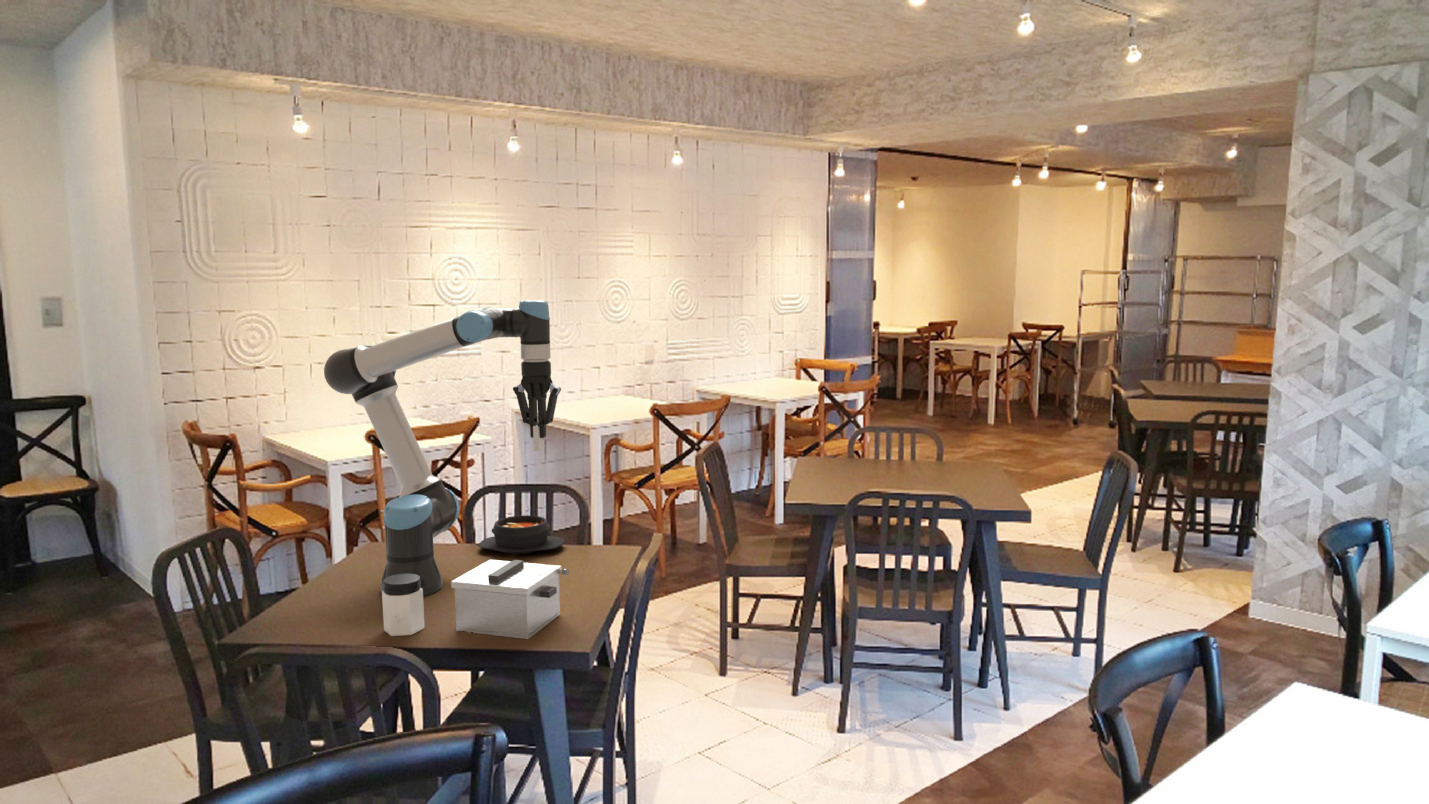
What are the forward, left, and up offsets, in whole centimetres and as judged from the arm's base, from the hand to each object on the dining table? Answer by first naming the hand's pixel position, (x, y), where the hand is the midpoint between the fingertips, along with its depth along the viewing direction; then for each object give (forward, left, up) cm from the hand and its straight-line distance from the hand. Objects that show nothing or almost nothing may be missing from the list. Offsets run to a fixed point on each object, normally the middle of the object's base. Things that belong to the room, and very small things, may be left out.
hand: (538, 450), depth 252 cm
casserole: (-18, +22, -35) cm, 45 cm away
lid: (+8, -33, -24) cm, 41 cm away
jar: (-13, -43, -35) cm, 57 cm away
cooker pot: (+8, -32, -34) cm, 47 cm away
